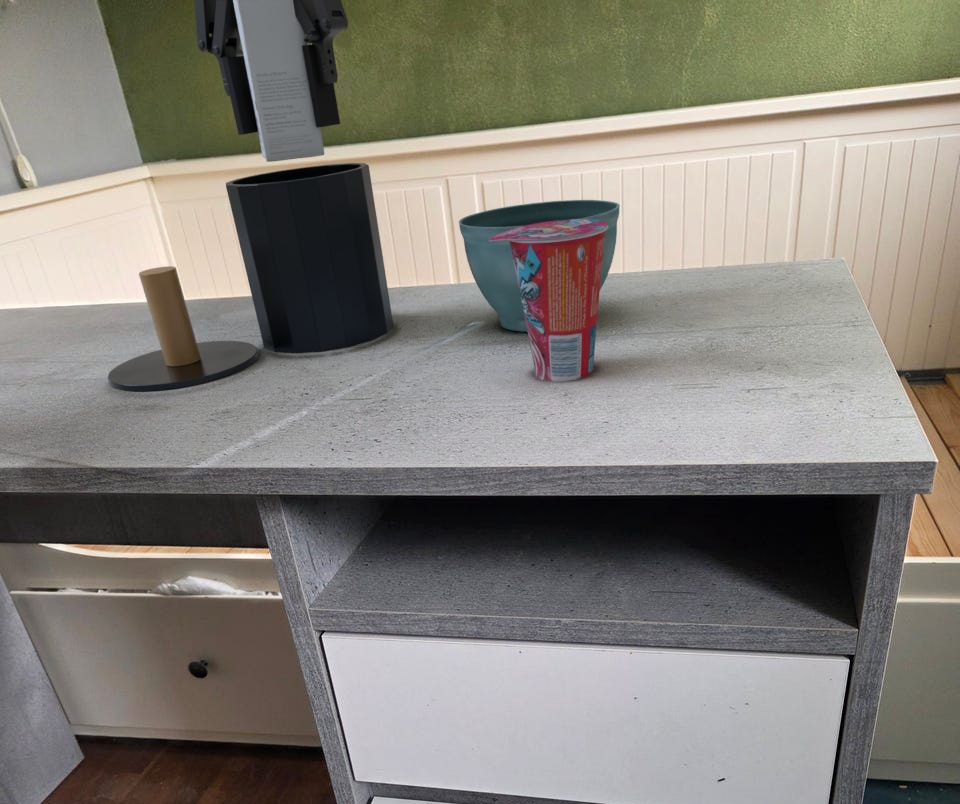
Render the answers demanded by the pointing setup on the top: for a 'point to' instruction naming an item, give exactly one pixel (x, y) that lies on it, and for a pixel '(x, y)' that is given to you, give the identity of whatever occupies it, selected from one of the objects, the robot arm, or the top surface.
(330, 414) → the top surface
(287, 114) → the cosmetic box
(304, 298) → the trash can
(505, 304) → the flower pot
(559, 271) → the cup
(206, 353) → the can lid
